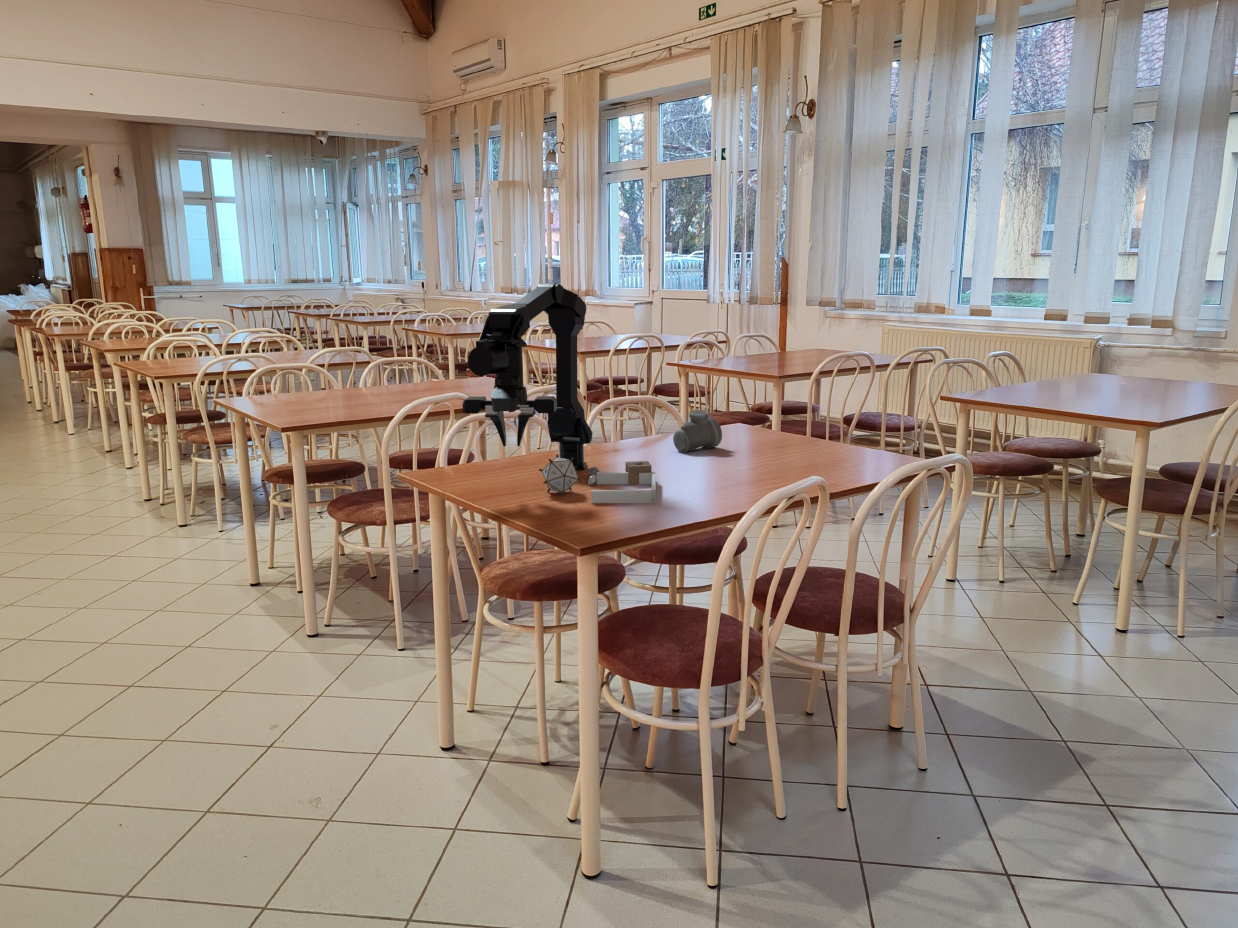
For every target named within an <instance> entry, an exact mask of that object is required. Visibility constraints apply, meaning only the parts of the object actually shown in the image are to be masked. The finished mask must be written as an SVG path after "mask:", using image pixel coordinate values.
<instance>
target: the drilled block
mask: <svg viewBox="0 0 1238 928" xmlns="http://www.w3.org/2000/svg"><path fill="white" fill-rule="evenodd" d="M624 463H625V465H624V466H625V469H624V470H625V472H628V483H629V484H628V486H631V485H640V484H639V473H652V472H653V471H652V464H651V463H650V462H649V461H648V460H640V461H639V460H635V461H625V462H624Z"/></svg>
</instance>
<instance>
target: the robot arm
mask: <svg viewBox="0 0 1238 928" xmlns="http://www.w3.org/2000/svg"><path fill="white" fill-rule="evenodd" d="M542 312H544V313H545V314H546V315H547V316H548V317H547V318H548V325H549V327H550V328H551V330H552V332H553V334H554V335H555V395H548V396H547V395H545V396H544V395H542V396H541V395H540V396H539V395H538V396H537V397H536V398H535V399H530V400H529V399H528V391H527V388H526V387H527V386H524V362H523V348H525V347H527V346H528V343H527V342H526V340H524V339H523V338H522V337H523V336H524V335H525V334H526V333H527V331H528V330H529V329H530V328H531V323H530V322H531V321H532V320H533V319H534V318H536V317H537V316H539V315H541V314H542ZM586 314H587V305H586V302H585V301H584V300H583V299H582V298H581V296H579V294H577V293H575V292H573V291H571V290H569V289H567V288H565V287H564V286H563V285H562V284H561V283H557V282H541V283H540V284H538V285H536V288H534V289H533V290H531V291H530V292H528V293H527V294H526V295H524V296H522V297H521V298H520V299H518V300H517V301H515V302H514V303H511V304H505V305H500V306H497V307H493V308H491V309H490V310H489V312H488V314H487V318H486V319H485V322H484V325H483V328H482V331H481V334H480V337H479V339H478V340H476V341H475V347H474V348H472V350H471V351H470V352H469V354H468V357H467V364H468V368H469V369H470V371H471V373H472V374H474V375H475V376H478V377H485V376H489V375H490V376H491V375H494V387H493V389H492V393H491V395H490V399H489V400H487V397H486V396H483V395H481V396H468V397H467V398H465V399H464V400H463V401H462V405H461V406H462V414H472V415H474V414H475V415H476V414H479V413H480V412H481V411H482V410H485V414H484V418H487V419H488V418H489V419H490V420H491V422H493V424H494V426H495V429H496V431H497V432H498V436H499V437H500V440H501V443H502V446H503V447H507V433H506V432H507V431H506V425H505V423H506V422H505V414H504V412H508V413H515V412H516V411H518V410H519V414H517V423H518V424H517V433H516V434H517V436H516V443H517V447H520V446H521V443H522V442H523V441H522V440H523V437H524V434H525V432H526V431H525V430H526V427H527V426H528V425H527V424H528V423H529V419H530V418H533V417H534V416H535V415H536V413H537V414H547V422H546V425H547V429H548V433H549V438H550V442H551V443H558V444H559V445H558V447H559V448H558V450H559V451H558V452H559V458H564V459H568V460H571V458H573V457H574V459H573V460H572V462H573V465H574V467H575V466H576V467H577V469H575V470H576V471H584V470H586V467H587V462H585V459H584V458H585V457H584V456H585V454H584V453H585V451H584V448H585V447H584V445H585V444H586V445H587V444H591V442H592V441H593V440H592V439H593V433H594V432H593V431H592V429H591V427H590V426H589V424H588V422H587V421H586V415H585V409H584V408H583V406H582V404H581V403H580V400H579V399H578V335H579V334H580V332H581V330H582V329H583V327H584V325H585V320H586V318H585V317H586Z"/></svg>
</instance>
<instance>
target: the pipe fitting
mask: <svg viewBox="0 0 1238 928" xmlns="http://www.w3.org/2000/svg"><path fill="white" fill-rule="evenodd" d="M688 416H689V418H690V419H689V421H687V422H684V423H682V424H681V426H680V429H678V430H676V431H675V432H674V433H673V438H672V440H673V445H674V447H675V449H676V450H677V451H679V452H680V453H687V452H690V451H691V452H692V451H693V450H696V449H700V448H702V447H704V448H706V449H711V448H715V447H718V446H719V445H720V444H721V443H722V439H723V431H722V427H721V424H720V423H719V422H718V421H717V419H715V418H714V417H711V416H710V412H709V411H708V410H705V409H694V410H691V411H689V412H688Z"/></svg>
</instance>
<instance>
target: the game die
mask: <svg viewBox="0 0 1238 928" xmlns="http://www.w3.org/2000/svg"><path fill="white" fill-rule="evenodd" d="M573 459H574V457H573V458H571V460H568V459H564V458H560V456H559V454H558V453H556V455H555V458H554V459H553V460H552V459H551V458H549V459H548V461H549V463H548V464H547V465H546V466H545V467H543V468H539V469H538V472H542V475H543V478H544V480H545V481H543V484H544V485H545V484H546V485H547V488H548V489H547V493H550V491H555V492H558V493H561V494H562V496H563V497H565V495H566V494H565V492H567V491H568V490H569V491H572V486H574V485H575V484H576V483H577V482H578V481H579V482H582V481H583V479H582V478H579V475H578V472H577V470H575V469H577V467H576V466H575V467H574V465H573V462H572V460H573Z"/></svg>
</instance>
